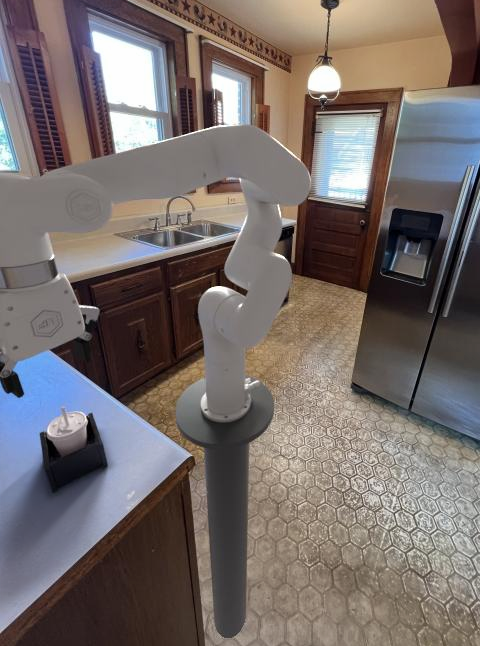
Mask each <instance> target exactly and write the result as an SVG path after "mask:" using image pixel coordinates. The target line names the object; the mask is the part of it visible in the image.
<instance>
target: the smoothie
mask: <svg viewBox="0 0 480 646" xmlns="http://www.w3.org/2000/svg"><path fill="white" fill-rule="evenodd" d="M60 409H61V413H62V414H61V415H58V416H57V417H55V418H54V419H53V420H52V421H50V423H49V424H48V425H47V427H46V429H45V432H46V433H47V437H48V439H49V440H51V441H52V442H53V444H54V445H55V447H56V449H57V450H58V452H59V454H58V455H60V458H61V457H64V456H66V455H68V454H70V453H73V452H75V451H77V450H79V449H82V448H84V447H86V446H88V441H87V434H86V425H87V418H86V416H87V415H86V414H85V413H84V412H82V411H70V412H69V411H68V412H67V410H66V407H65V406H61V407H60Z"/></svg>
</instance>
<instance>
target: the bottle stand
mask: <svg viewBox="0 0 480 646" xmlns="http://www.w3.org/2000/svg"><path fill="white" fill-rule="evenodd" d="M86 418H87V425H86V434H87V442H89V441H92V440H94V442H93V443H91V444H87V446H86V447H84V448H82V449H79V450H77V451H75V452H73V453H70V454H68V455H66V456H64V457H61V456H60V457H59V458H56V459H55V460H54V458H53V457H55V456H58V455H60V454H59V452H58V450H57V449H56V447H55V445H54V444H53V442H52V441H51V440H49V439H48V437H47V433H46V430H45V431H40V432H39V440H40V447H41V455H42V461H43V469H44V473H45V475H46V478H47V482H48V485H49V487H50V489H51V492H52V494H54V493H56V492H58V491H59V489H61V488H63V487H64V486H67V485H69V484H70V483H73V482H74V481H77V480H79V479H81V478H83V477H84V476H87V475H89V474H92V473H93V472H95V471H97V470H99V469H101V468H103V469H104V468H106V467H108V466H109V463H108V459H107V456H106V451H105V447H104V443H103V440H102V437H101V433H100V431H99V428H98V425H97V423H96V419H95V417H94V413H93V412H89V413H87V415H86Z"/></svg>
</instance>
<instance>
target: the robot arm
mask: <svg viewBox="0 0 480 646" xmlns="http://www.w3.org/2000/svg"><path fill="white" fill-rule="evenodd" d="M228 178H229V179H230V178H234V179H239V185H240V188H241V192H242V195H243V198H244V202H245V207H246V213H245V214H246V215H245V219H244V222H243V224H242V226H241V229H240V231H239V233H238V236H237V237H236V239H235V242H234V244H233V246H232V248H231V250H230V252H229V254H228V256H227V258H226V261H225V263H224V270H223V271H224V274H225V276H226V278H227V280H229V281H230V282H232V283H233V284H235V285H236V286H238V287H239V288H242V289H244V290H245V291H247V293H246V295H243V294H241V293H240V292H238V291H236V290H234V289H232V288H229V287H227V286H214V287H211V288H208V289H207V290H205V292H204V293H203V294H202V295H201V297H200V299H199V301H198V306H197V314H198V315H197V316H198V321H199V325H200V329H201V330H200V331H201V335H202V340H203V341H202V342H203V352H204V354H203V356H204V378H206V393H205V394H204V395H203V397H202V399H201V403H200V406H201V411H202V413H203V415H204V416H205V417H206V418H208V419H210V420H212V421H215V422H220V423H226V422H232V421H235V420H238V419H240V418H241V417H243V416H244V415H245V414H246V413H247V412H248V410H249V408H250V405H251V398H250V395H249V394H250V393H251V391H252V390H255V389H257V388H259V387H261V384H260V382H259V381H260V380H259V379H257V381H255V382H253V383H251V379H250V378H248V379H246V380H245V375H246V350H248V349H253V348H255V347H257V346H258V345H259V344H261V343H262V341H264V339H265V338H266V337H267V335H268V333H269V331H270V330H271V328H272V326H273V323H274V321H275V320H276V317H277V315H278V313H279V312H280V310H281V307H282V305H283V303H284V301H285V299H286V297H287V295H288V292H289V290H290V287H291V284H292V278H293V272H292V267H291V264H290V262H289V261H288V259H287V258H285V256H283V255H281V254H279V253H276V252H275V250H276V248H277V245H278V243H279V240H280V238H281V235H282V233H283V218H282V213H281V209H280V206H281V207H282V206H283V207H290V208H292V207H296V206H300V205H301V204H302V203H303V202H305V201H306V199H308V196H309V194H310V192H311V187H312V179H311V174H310V172H309V169H308V167H307V166H306V165H305V163H304V162H303V161H301V159H300V158H298V157H297V156H296V155H295V154H293V152H291V151H290V150H289V149H287V148H286V147H285V146H284V145H283V144H281V142H279V141H278V140H277V139H276V138H274V137H273V136H271V134H269V133H268V132H266V131H265V130H263V129H262V128H260V127H258V126H256V125H254V124H249V123H248V124H247V123H246V124H224V125H223V124H222V125H216V126H211V127H209V128H205V129H201V130H197V131H193V132H190V133H187V134H183V135H178V136H176V137H172V138H169V139H163V140H160V141H157V142H154V143H153V142H152V143H150V144H149V143H148V144H144V145H141V146H137V147H134V148H131V149H128V150H124V151H119V152H115V153H112V154H108V155H104V156H99V157H95V158H92V159H87V160H84V161H80V162H77V163H73V164H69V165H66V166H62V167H58V168H55V169H52V170H49V171H46V172H45V173H43V174H42V175H41V176H40V177H36V178H35V177H34V178H31V177H28V176H26V175H22V174H16V173H0V385H1V388H2V390H3V391H4V392H5V394H7V395H10V394H12V395H14V396H15V397H16V398H18V399H20V398H23V397H24V395H25V391H24V388H23V385H22V382H21V380H20V377H19V374H18V373H17V372H16V371H14V370H15V367H16V366H17V364H18V362H22V361H26V360H29V359H31V358H33V357H35V356H38V355H40V354H43V353H45V352H47V351H50V350H53V349H55V348H57V347H59V346H61V345H64V344H66V343H68V342H70V341H72V345H73V349H74V353H75V357H76V358H77V359H78V360H80V361H82V362H83V363H85V364H89V363H91V362H92V357H91V354H92V348H91V344H90V340H91V339H92V336H93V335H92V333H93V332H94V330H95V328H96V327H97V325H98V323H97V320H99V319H98V318H99V314H100V311H101V310H100V308H98V307H96V306H94V305H93V306H92V305H83V304H82V305H81V304H79V301H78V299H77V297H76V294H75V291H74V289H73V287H72V285H71V283H70V281H69V279H68V277H67V276H66V274H65V273H62V272H58V267H57V262H56V259H55V254H54V250H53V246H52V241H51V238H50V237H51V236H50V234H49V233H67V234H68V233H71V234H84V233H91V232H95V231H98V230H100V229H102V228H103V227H105V226H106V225H107V224H108V223H109V222H110V220H111V219H112V216H113V213H114V205H118V204H121V203H125V202H131V201H137V200H163V199H164V200H165V199H173V198H178V197H181V196H184V195H186V194H188V193H191V192H193V191H196V190H198V189H201V188H204V187H206V186H209V185H212V184H214V183H217V182H220V181H222V180H226V179H228ZM83 315H86V316H85V319H84V317H83ZM258 380H259V381H258ZM249 383H251V384H249Z"/></svg>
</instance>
